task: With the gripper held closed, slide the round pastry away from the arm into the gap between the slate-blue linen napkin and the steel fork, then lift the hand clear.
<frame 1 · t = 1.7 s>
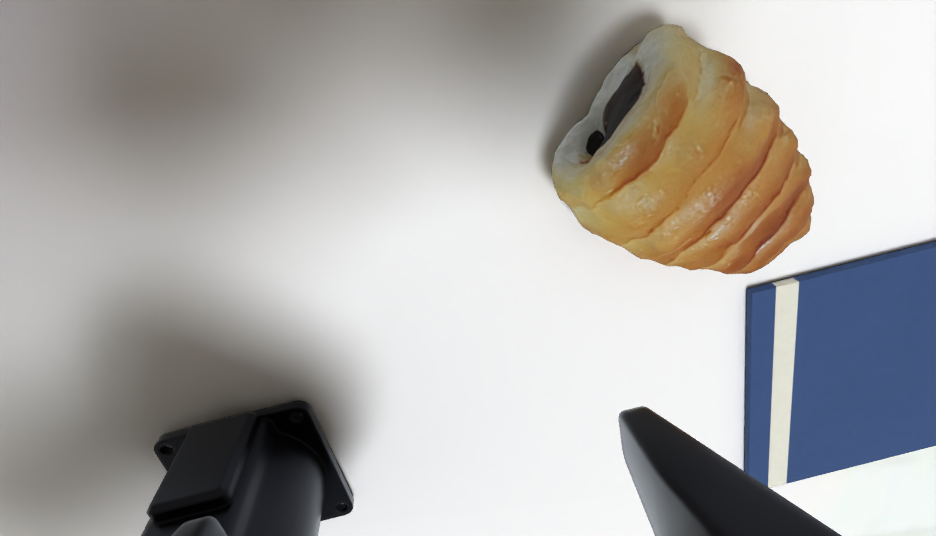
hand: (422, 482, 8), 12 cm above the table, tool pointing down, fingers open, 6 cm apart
pastry: (665, 154, 19), on the table
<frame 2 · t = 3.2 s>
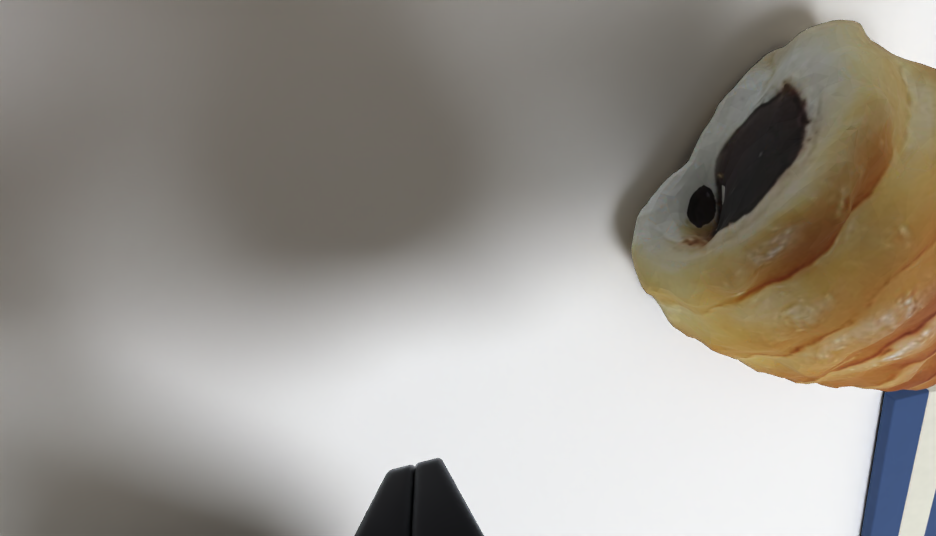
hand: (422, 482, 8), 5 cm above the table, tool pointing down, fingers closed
pastry: (792, 213, 13), on the table
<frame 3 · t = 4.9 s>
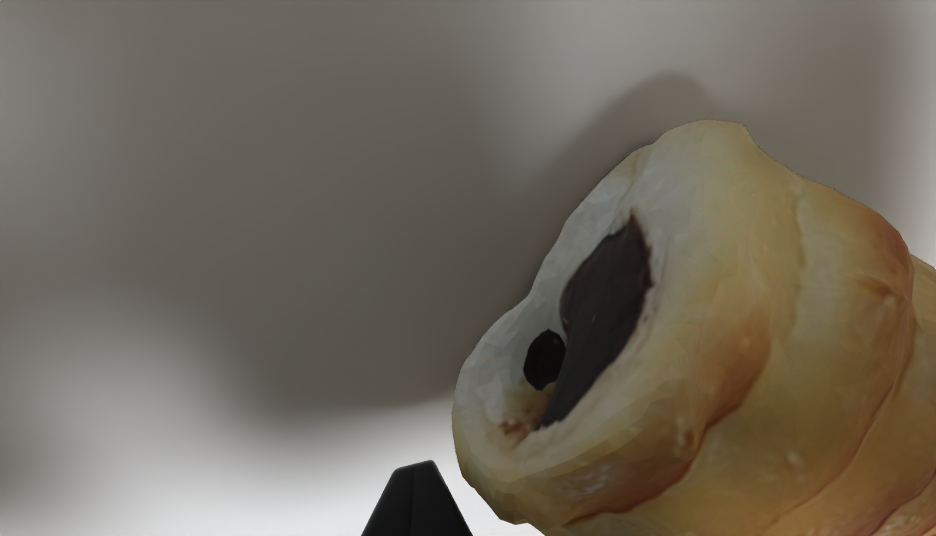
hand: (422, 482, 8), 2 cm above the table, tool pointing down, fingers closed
pastry: (692, 344, 10), on the table, touching gripper
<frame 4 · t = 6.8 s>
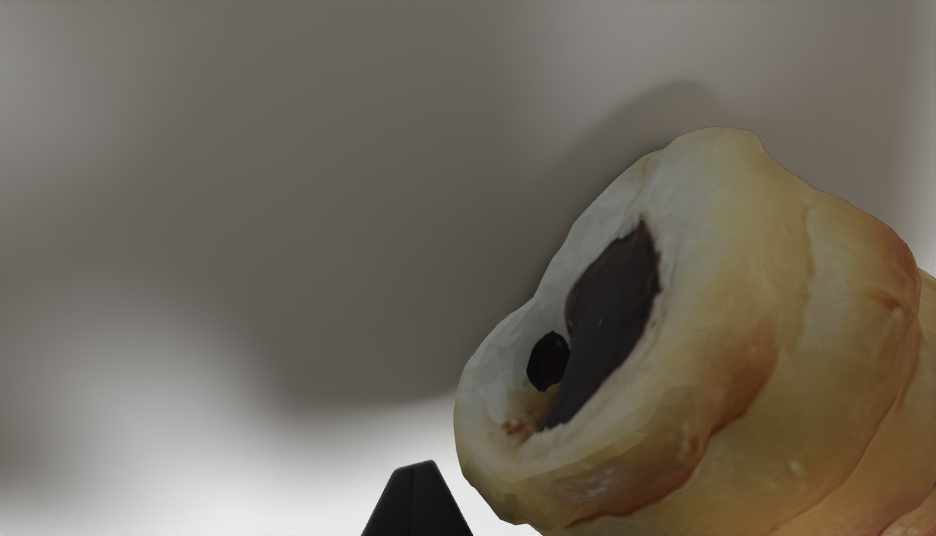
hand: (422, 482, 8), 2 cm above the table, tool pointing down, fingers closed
pastry: (694, 350, 10), on the table, touching gripper
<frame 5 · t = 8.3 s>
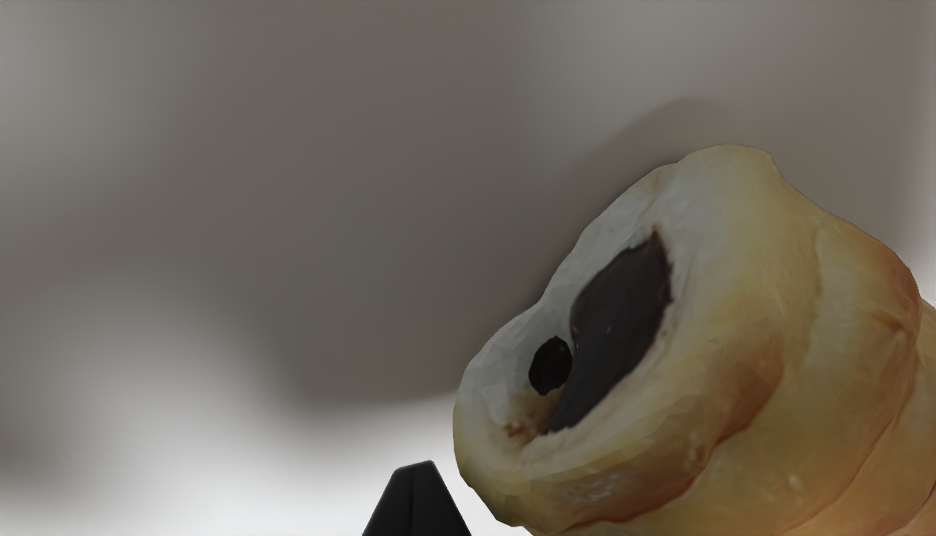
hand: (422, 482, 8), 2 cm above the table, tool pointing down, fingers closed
pastry: (690, 362, 10), on the table, touching gripper
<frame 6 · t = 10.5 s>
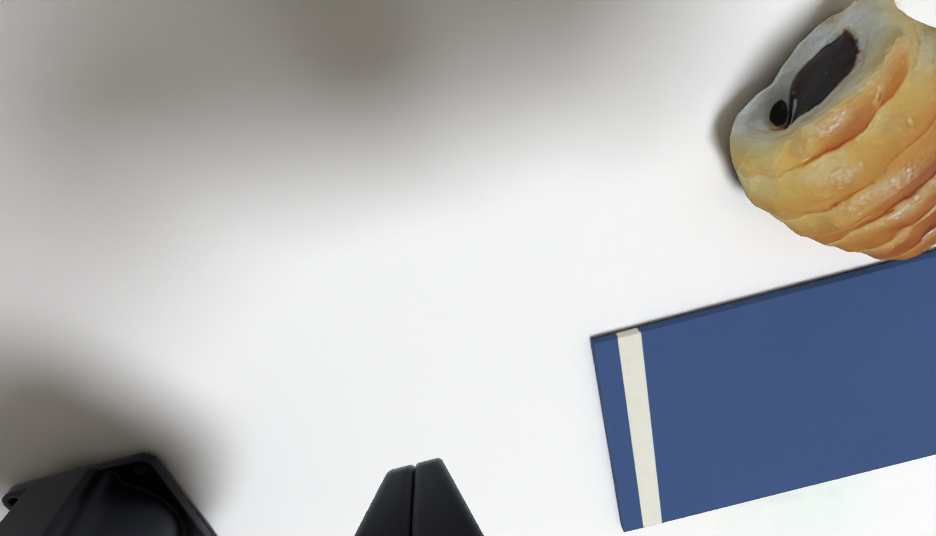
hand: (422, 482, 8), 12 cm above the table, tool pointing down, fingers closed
pastry: (831, 133, 19), on the table
napkin: (840, 383, 24), on the table
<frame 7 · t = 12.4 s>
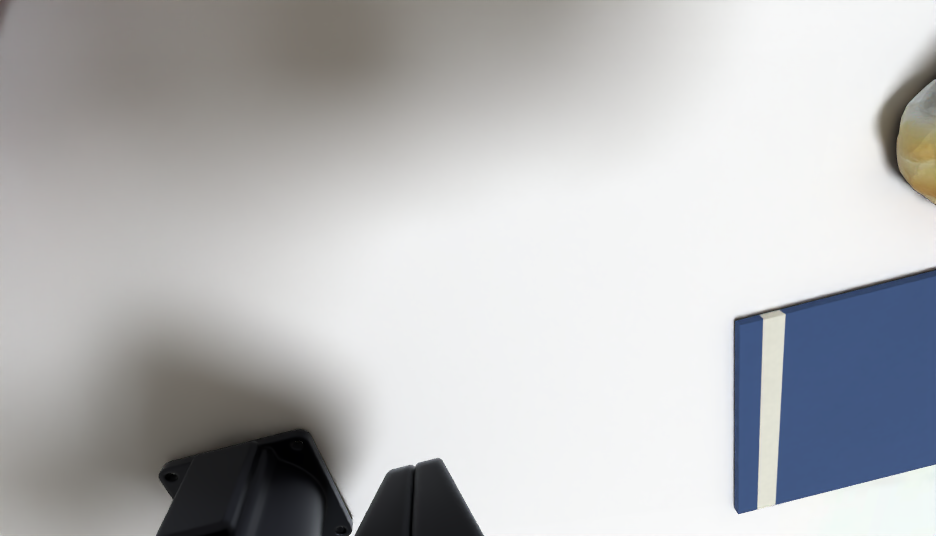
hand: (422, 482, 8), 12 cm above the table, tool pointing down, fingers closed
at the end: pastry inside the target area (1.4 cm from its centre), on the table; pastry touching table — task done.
